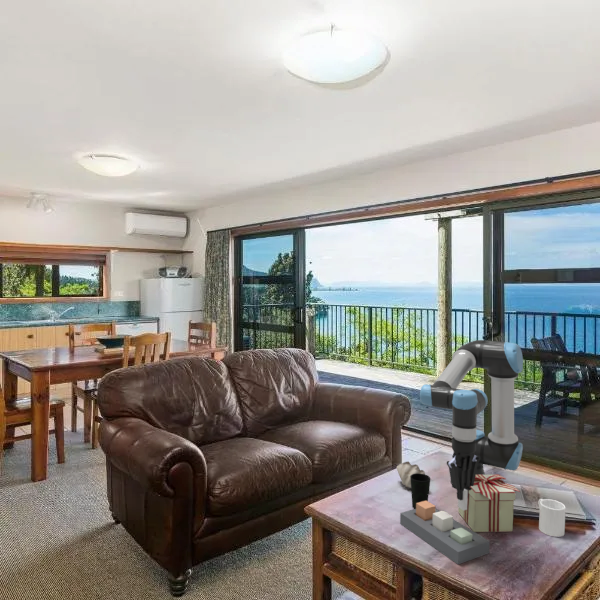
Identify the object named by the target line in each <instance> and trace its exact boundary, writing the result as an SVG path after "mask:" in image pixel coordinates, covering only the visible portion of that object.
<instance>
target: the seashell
mask: <svg viewBox="0 0 600 600" xmlns="http://www.w3.org/2000/svg"><path fill="white" fill-rule="evenodd" d="M396 471H397V473H398V476H399V478H400V480H401V483H402V485H403V486H405V487H406V488H409V489H411V479H410V476H411V475H412V474H416V473H420V474H425V475H426V472H425V471H424V470H423V469H420V466H419V465H418V464H411V462H410V461H404V462H402V463H399V464H398V465H397V466H396Z"/></svg>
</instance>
